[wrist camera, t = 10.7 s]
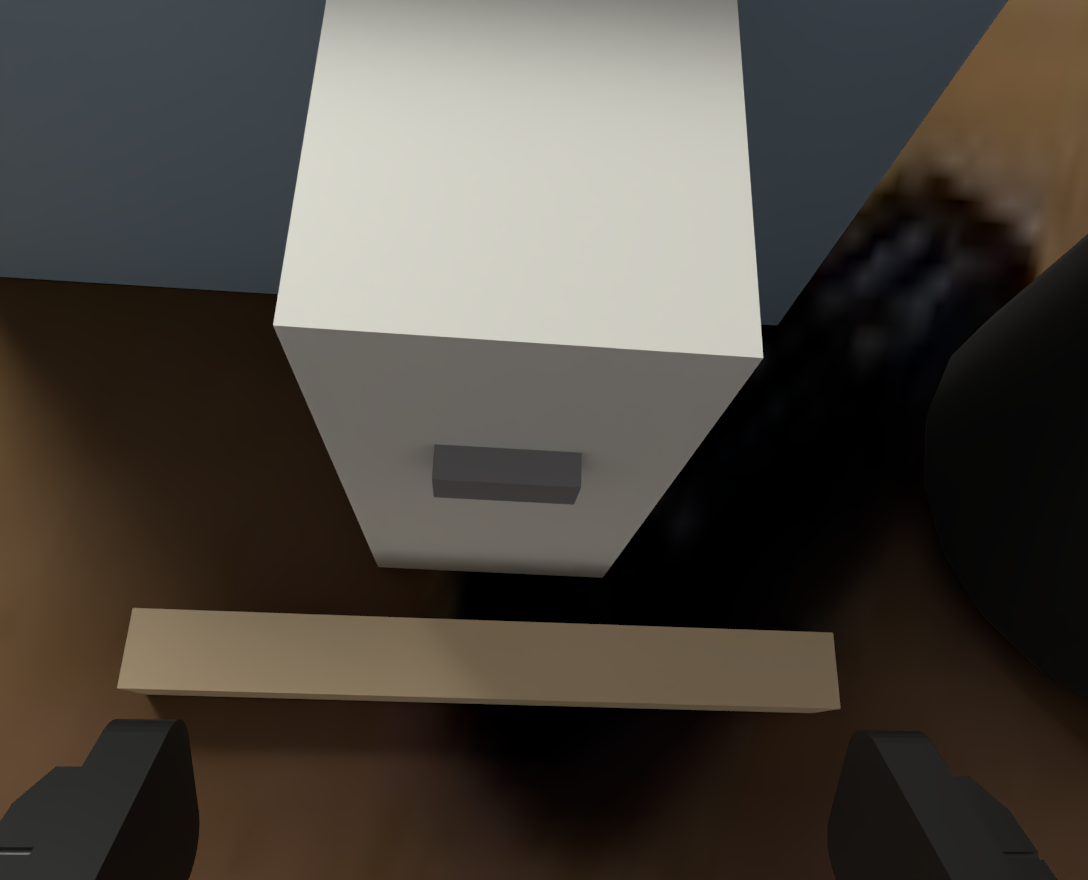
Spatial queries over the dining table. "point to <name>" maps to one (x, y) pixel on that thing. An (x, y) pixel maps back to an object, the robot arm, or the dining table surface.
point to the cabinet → (520, 269)
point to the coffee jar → (1021, 469)
